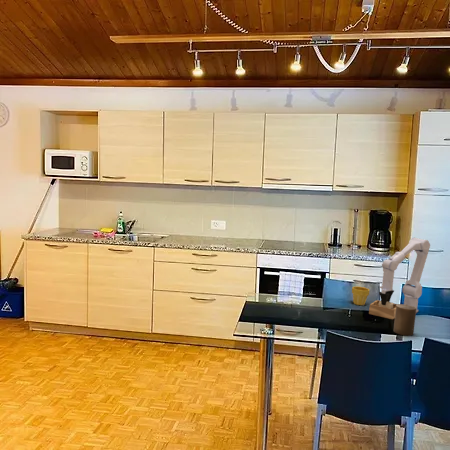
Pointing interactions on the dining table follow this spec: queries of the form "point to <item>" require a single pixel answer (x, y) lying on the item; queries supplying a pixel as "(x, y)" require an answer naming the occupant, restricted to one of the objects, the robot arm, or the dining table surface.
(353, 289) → the plant pot
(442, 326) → the dining table surface
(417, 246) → the robot arm
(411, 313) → the pillar candle
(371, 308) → the big crate
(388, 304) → the small crate
